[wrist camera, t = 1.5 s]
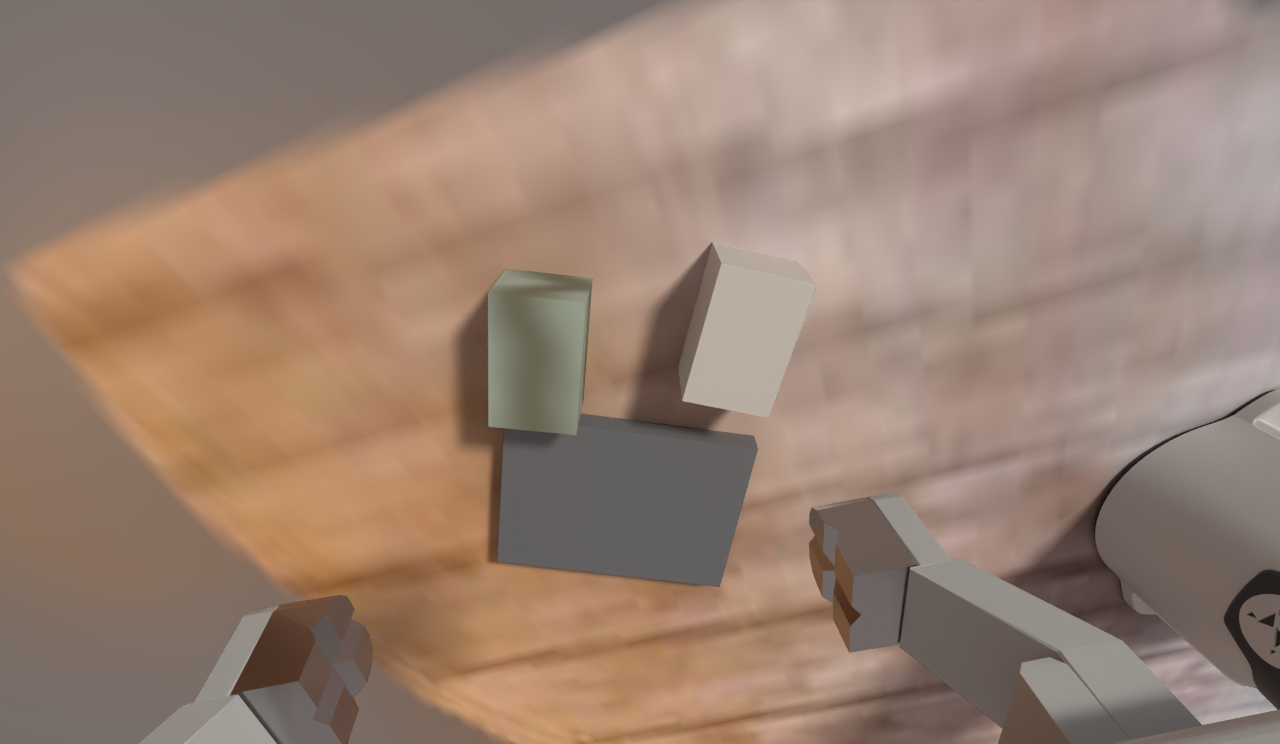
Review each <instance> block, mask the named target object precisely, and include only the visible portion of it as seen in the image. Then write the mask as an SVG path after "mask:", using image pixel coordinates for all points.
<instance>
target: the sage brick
mask: <svg viewBox="0 0 1280 744" xmlns="http://www.w3.org/2000/svg"><path fill="white" fill-rule="evenodd" d="M592 280H593V278H586V277H576V276H567V275H558V274H548V273H539V272H530V271H521V270H511V269H505V271H504V272H503V273H502V275H501V276H500V277H499V279H498V280H497V281H496V283H495V284H494V285H493V287H492V288H491V289H490V291H489V292H488V427H496V428H507V429H517V430H527V431H538V432H548V433H558V434H569V435H576V434H577V429H578V424H579V419H580V414H581V409H582V404H583V398H584V385H585V371H586V358H587V345H588V332H589V319H590V306H591V293H592Z"/></svg>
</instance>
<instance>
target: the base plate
mask: <svg viewBox="0 0 1280 744" xmlns="http://www.w3.org/2000/svg"><path fill="white" fill-rule="evenodd" d="M757 450H758V448H757V444H756V441H755V438H754V436H749V435H741V434H734V433H726V432H718V431H710V430H702V429H695V428H687V427H679V426H671V425H663V424H656V423H648V422H640V421H632V420H625V419H617V418H609V417H601V416H593V415H586V414H580V419H579V424H578V429H577V434H576V435H569V434H558V433H548V432H538V431H527V430H517V429H507V428H504V438H503V458H502V478H501V498H500V517H499V537H498V557H497V562H503V563H511V564H520V565H529V566H538V567H547V568H556V569H564V570H573V571H582V572H591V573H600V574H609V575H617V576H626V577H635V578H644V579H653V580H662V581H671V582H679V583H688V584H697V585H706V586H715V587H720V584H721V580H722V576H723V573H724V569H725V566H726V562H727V558H728V555H729V551H730V548H731V544H732V540H733V537H734V533H735V529H736V526H737V522H738V519H739V515H740V511H741V508H742V504H743V501H744V497H745V493H746V490H747V486H748V483H749V479H750V475H751V472H752V468H753V465H754V461H755V457H756V454H757Z"/></svg>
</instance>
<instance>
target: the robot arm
mask: <svg viewBox="0 0 1280 744" xmlns="http://www.w3.org/2000/svg"><path fill="white" fill-rule="evenodd" d="M809 525H810V527H811V529H812V531H813V533H814V535H815V536H814V538H813V539H812V540H811V541H810V543H809V553H810V562H811V567H812V572H813V575H814V578H815V581H816V583H817V586H818V588H819V590H820V592H821V595H822V597H824V598H825V599H827V600H828V601H830V602H831V603H833V620H834V622H835V624H836V626H837V628H838V630H839V633H840V635H841V637H842V639H843V641H844V643H845V645H846V647H847V649H848V651H849V653H850V652H856V651H862V650H868V649H874V648H880V647H886V646H893V645H899V644H900V648H901V649H903V650H904V651H905V652H906V653H908V654H909V655H910V656H912V657H913V658H914V659H915V660H917V661H918V662H919V663H920V664H922V665H923V666H924V667H925V668H927V669H928V670H929V671H930V672H932V673H933V674H934V675H936V676H937V677H938V678H939V679H941V680H942V681H943V682H944V683H946V684H947V685H948V686H949V687H951V688H952V689H953V690H955V691H956V692H957V693H958V694H960V695H961V696H962V697H963V698H965V699H966V700H967V701H968V702H970V703H971V704H972V705H973V706H975V707H976V708H977V709H979V710H980V711H981V712H982V713H984V714H985V715H986V716H987V717H989V718H990V719H991V720H992V721H994V722H995V723H996V724H997V725H999V726H1000V727H1001V728H1002V732H1001V735H1000V739H999V742H998V744H1280V389H1277V390H1274V391H1272V392H1270V393H1268V394H1266V395H1264V396H1262V397H1261V398H1259V399H1257V400H1256V401H1254V402H1252V403H1251V404H1249V405H1248V406H1246V407H1245V408H1243V409H1242V410H1240V411H1239V412H1237V413H1236V414H1234V415H1232V416H1230V417H1228V418H1226V419H1223V420H1221V421H1218V422H1215V423H1212V424H1209V425H1206V426H1203V427H1201V428H1198V429H1195V430H1192V431H1190V432H1187V433H1185V434H1183V435H1181V436H1179V437H1177V438H1175V439H1173V440H1171V441H1169V442H1167V443H1165V444H1164V445H1162V446H1160V447H1159V448H1157V449H1156V450H1154V451H1153V452H1151V453H1150V454H1148V455H1147V456H1145V457H1144V458H1143V459H1142V460H1140V461H1139V462H1138V463H1137V464H1136V465H1134V466H1133V467H1132V468H1131V469H1130V470H1129V471H1128V472H1127V473H1126V474H1125V475H1124V476H1123V477H1122V478H1121V479H1120V480H1119V482H1118V483H1117V484H1116V485H1115V487H1114V488H1113V489H1112V491H1111V492H1110V494H1109V495H1108V497H1107V498H1106V500H1105V502H1104V504H1103V506H1102V508H1101V510H1100V513H1099V516H1098V519H1097V523H1096V530H1095V540H1096V546H1097V550H1098V552H1099V555H1100V557H1101V558H1102V560H1103V561H1104V563H1105V564H1106V565H1107V566H1108V567H1109V568H1110V569H1111V570H1112V571H1113V572H1114V573H1115V574H1116V575H1117V576H1118V577H1119V579H1120V581H1121V587H1122V594H1123V597H1124V600H1125V601H1126V603H1127V604H1129V605H1130V606H1131V607H1132V608H1133V609H1134V610H1135V611H1137V612H1138V613H1140V614H1147V615H1150V614H1156V615H1157V616H1159V617H1160V618H1161V619H1162V620H1163V621H1164V622H1165V623H1166V624H1168V625H1169V626H1170V627H1171V628H1172V629H1173V630H1174V631H1175V632H1177V633H1178V634H1179V635H1180V636H1181V637H1182V638H1183V639H1184V640H1185V641H1187V642H1188V643H1189V644H1190V645H1191V646H1192V647H1193V648H1195V649H1196V650H1197V651H1198V652H1199V653H1200V654H1201V655H1202V656H1204V657H1205V658H1206V659H1207V660H1208V661H1209V662H1210V663H1212V664H1213V665H1214V666H1215V667H1216V668H1217V669H1218V670H1220V671H1221V672H1222V673H1223V674H1224V675H1225V676H1227V677H1228V678H1229V679H1230V680H1232V681H1233V682H1235V683H1237V684H1239V685H1242V686H1249V687H1254V688H1257V689H1258V690H1259V691H1260V692H1261V693H1262V694H1263V695H1264V696H1265V697H1266V698H1267V699H1268V700H1269V701H1270V702H1271V703H1272V704H1273V705H1274V706H1275V707H1276V708H1277V709H1278V710H1276V711H1271V712H1266V713H1261V714H1256V715H1251V716H1246V717H1241V718H1236V719H1231V720H1226V721H1221V722H1216V723H1211V724H1206V725H1202V724H1201V723H1200V722H1199V721H1198V720H1197V719H1196V718H1195V717H1194V716H1193V715H1192V714H1191V713H1190V712H1189V711H1188V710H1187V708H1186V707H1185V706H1184V705H1183V704H1182V703H1181V702H1180V701H1179V700H1178V699H1177V698H1176V697H1175V696H1174V695H1173V694H1172V693H1171V691H1170V690H1169V689H1168V688H1167V687H1166V686H1165V685H1164V684H1163V683H1162V682H1161V681H1160V680H1159V679H1158V678H1157V677H1156V676H1155V675H1154V673H1153V672H1152V671H1151V670H1150V669H1149V668H1148V667H1147V666H1146V665H1145V664H1144V663H1143V662H1142V661H1141V660H1140V659H1139V658H1138V657H1137V655H1136V654H1135V653H1134V652H1133V651H1132V650H1131V649H1130V648H1129V647H1128V646H1127V645H1126V644H1125V643H1124V642H1123V641H1122V640H1120V639H1118V638H1116V637H1114V636H1112V635H1110V634H1108V633H1106V632H1104V631H1102V630H1100V629H1098V628H1096V627H1094V626H1092V625H1090V624H1088V623H1087V622H1085V621H1083V620H1081V619H1079V618H1077V617H1075V616H1073V615H1071V614H1069V613H1067V612H1065V611H1063V610H1061V609H1059V608H1057V607H1055V606H1053V605H1051V604H1049V603H1047V602H1045V601H1043V600H1041V599H1039V598H1037V597H1035V596H1033V595H1031V594H1029V593H1027V592H1025V591H1023V590H1022V589H1020V588H1018V587H1016V586H1014V585H1012V584H1010V583H1008V582H1006V581H1004V580H1002V579H1000V578H998V577H996V576H994V575H992V574H990V573H988V572H986V571H984V570H982V569H980V568H978V567H976V566H974V565H972V564H970V563H968V562H966V561H964V560H962V559H960V558H959V559H952V560H951V559H950V557H949V556H948V555H947V554H946V552H945V551H944V550H943V548H942V547H941V546H940V544H939V543H938V542H937V541H936V539H935V538H934V537H933V535H932V534H931V533H930V531H929V530H928V529H927V528H926V526H925V525H924V524H923V522H922V521H921V520H920V519H919V517H918V516H917V515H916V513H915V512H914V511H913V509H912V508H911V507H910V506H909V504H908V503H907V502H906V500H905V499H904V498H903V496H902V495H901V494H899V493H897V492H896V491H895V492H890V493H885V494H879V495H874V496H869V497H867V498H859V499H854V500H849V501H844V502H839V503H833V504H828V505H823V506H818V507H813V508H811V511H810V518H809ZM354 609H355V608H354V607H353V605H352V603H351V602H350V600H349V599H348V597H347V596H342V595H337V596H331V597H325V598H318V599H312V600H306V601H300V602H293V603H287V604H282V605H279V606H272V607H265V608H259V609H253V610H251V611H250V612H249V613H247V614H246V615H245V616H243V618H242V619H241V621H240V623H239V625H238V626H237V628H236V630H235V632H234V633H233V635H232V637H231V639H230V640H229V642H228V644H227V645H226V647H225V649H224V651H223V653H222V654H221V656H220V658H219V659H218V661H217V663H216V665H215V666H214V668H213V670H212V672H211V673H210V675H209V677H208V679H207V680H206V682H205V684H204V686H203V687H202V689H201V691H200V693H199V694H198V696H197V698H196V700H195V701H194V703H189V704H184V705H183V706H182V707H181V708H179V709H178V710H177V711H176V712H175V713H174V714H172V715H171V716H170V717H169V718H168V719H167V720H165V721H164V722H163V723H162V724H161V725H160V726H159V727H157V728H156V729H155V730H154V731H153V732H151V733H150V734H149V735H148V736H147V737H146V738H145V739H144V740H142V741H141V742H140V743H139V744H348V741H349V738H350V735H351V732H352V728H353V725H354V722H355V719H356V716H357V713H358V710H359V708H358V706H357V704H356V702H355V700H354V696H355V695H356V694H357V693H358V692H359V691H360V690H361V688H362V687H363V686H364V685H365V684H366V683H367V681H368V677H369V674H370V670H371V667H372V644H371V640H370V635H369V634H368V632H367V630H366V628H365V626H364V625H362V624H360V623H358V622H356V621H354V620H352V619H351V617H352V615H353V612H354Z"/></svg>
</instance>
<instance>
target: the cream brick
mask: <svg viewBox="0 0 1280 744" xmlns="http://www.w3.org/2000/svg"><path fill="white" fill-rule="evenodd" d="M816 286H817V283H816V282H815V281H814V279H813V278H812V277H811V276H810V275H809V274H808V273H807V271H806V270H805V269H804V268H803V267H802V266H801V264H800V263H799V262H798V261H797V260H792V259H788V258H783V257H779V256H774V255H770V254H765V253H760V252H756V251H751V250H747V249H742V248H738V247H733V246H729V245H724V244H720V243H715V242H712V245H711V249H710V252H709V256H708V259H707V263H706V267H705V270H704V274H703V278H702V281H701V285H700V289H699V292H698V296H697V300H696V303H695V307H694V311H693V314H692V318H691V322H690V325H689V329H688V333H687V336H686V340H685V343H684V347H683V351H682V354H681V358H680V362H679V365H678V371H679V379H680V387H681V396H682V401H685V402H690V403H695V404H700V405H705V406H710V407H715V408H721V409H726V410H731V411H736V412H741V413H746V414H751V415H756V416H762V417H767V418H769V415H770V412H771V410H772V407H773V404H774V401H775V399H776V396H777V393H778V390H779V388H780V385H781V382H782V379H783V377H784V374H785V371H786V368H787V366H788V363H789V360H790V358H791V355H792V352H793V349H794V347H795V344H796V341H797V338H798V336H799V333H800V330H801V327H802V325H803V322H804V319H805V316H806V314H807V311H808V308H809V306H810V303H811V300H812V297H813V295H814V292H815V289H816Z"/></svg>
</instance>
